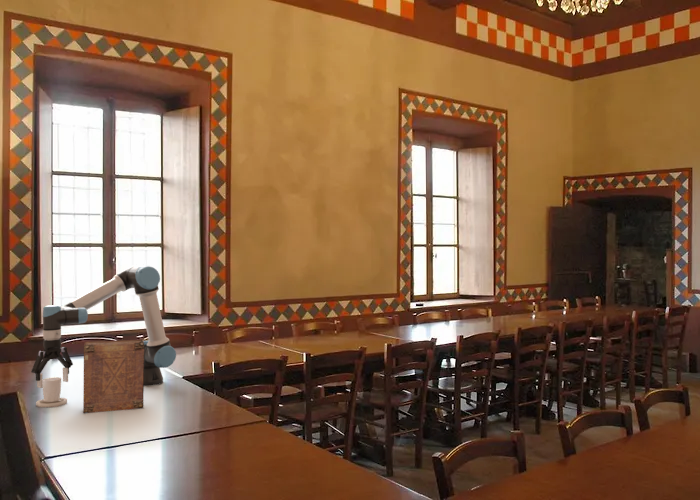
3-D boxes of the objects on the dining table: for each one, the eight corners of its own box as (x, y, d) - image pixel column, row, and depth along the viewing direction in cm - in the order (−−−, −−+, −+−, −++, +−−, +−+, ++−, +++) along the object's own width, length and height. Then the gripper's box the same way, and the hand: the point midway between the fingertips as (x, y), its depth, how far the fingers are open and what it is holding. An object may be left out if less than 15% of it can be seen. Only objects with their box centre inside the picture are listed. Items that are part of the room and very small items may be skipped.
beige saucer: (71, 400, 300) (71, 397, 300) (60, 407, 287) (60, 403, 287) (43, 400, 299) (43, 397, 299) (31, 407, 286) (31, 404, 286)
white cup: (43, 399, 295) (43, 377, 295) (61, 398, 298) (61, 376, 298) (41, 403, 288) (41, 381, 288) (60, 401, 291) (60, 380, 291)
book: (82, 413, 277) (83, 344, 277) (83, 408, 285) (83, 342, 285) (143, 408, 286) (144, 342, 286) (142, 403, 294) (142, 339, 294)
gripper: (33, 343, 280) (34, 391, 280) (80, 335, 302) (81, 379, 303) (22, 342, 284) (23, 389, 284) (69, 334, 306) (70, 378, 306)
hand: (53, 384), depth 293 cm, fingers open, 13 cm apart
